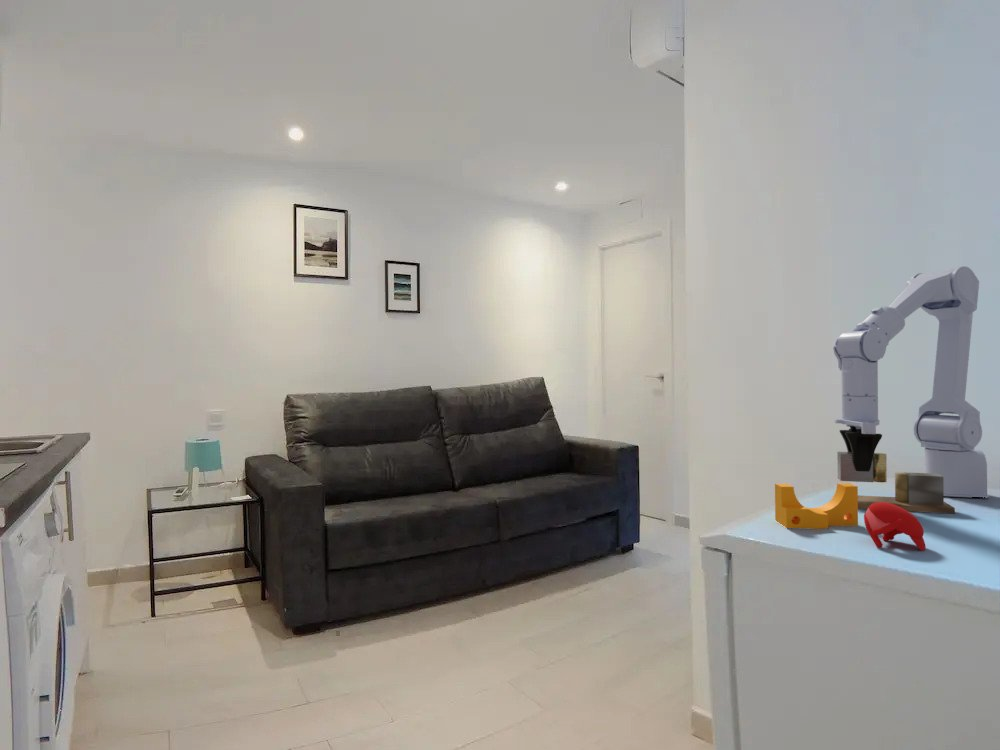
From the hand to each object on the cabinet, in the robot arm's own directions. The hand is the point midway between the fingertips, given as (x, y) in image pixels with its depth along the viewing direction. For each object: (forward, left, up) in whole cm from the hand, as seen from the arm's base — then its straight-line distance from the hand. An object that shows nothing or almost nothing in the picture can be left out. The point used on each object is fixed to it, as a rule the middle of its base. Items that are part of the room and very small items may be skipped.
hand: (860, 469), depth 111 cm
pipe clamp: (+9, +18, -7) cm, 21 cm away
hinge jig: (-5, 0, -6) cm, 8 cm away
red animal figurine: (+1, +27, -7) cm, 28 cm away
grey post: (0, 0, -2) cm, 2 cm away
